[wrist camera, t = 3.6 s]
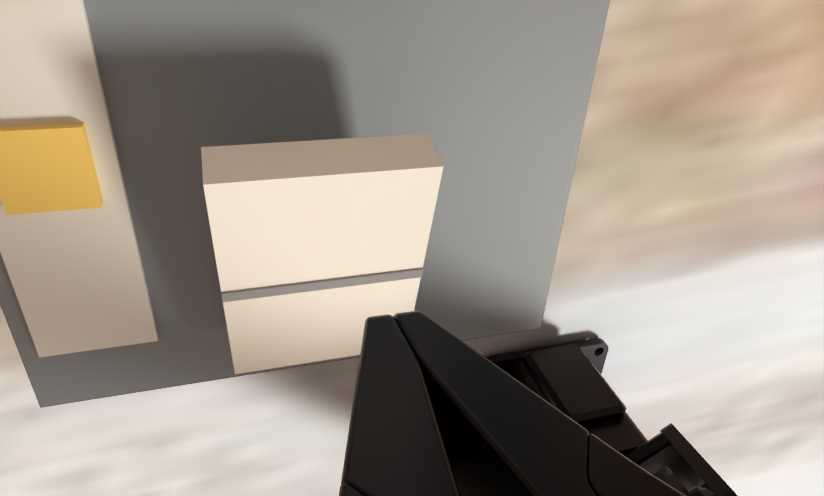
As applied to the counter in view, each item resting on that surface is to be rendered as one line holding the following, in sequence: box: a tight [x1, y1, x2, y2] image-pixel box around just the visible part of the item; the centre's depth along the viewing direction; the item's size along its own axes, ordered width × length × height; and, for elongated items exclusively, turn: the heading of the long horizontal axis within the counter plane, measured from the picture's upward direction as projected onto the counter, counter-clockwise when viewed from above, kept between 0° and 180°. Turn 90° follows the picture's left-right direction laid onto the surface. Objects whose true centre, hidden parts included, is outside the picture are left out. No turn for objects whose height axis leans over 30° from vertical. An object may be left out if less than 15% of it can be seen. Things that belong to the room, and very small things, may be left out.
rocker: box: [201, 133, 444, 374], centre depth 15 cm, size 7×5×1 cm
